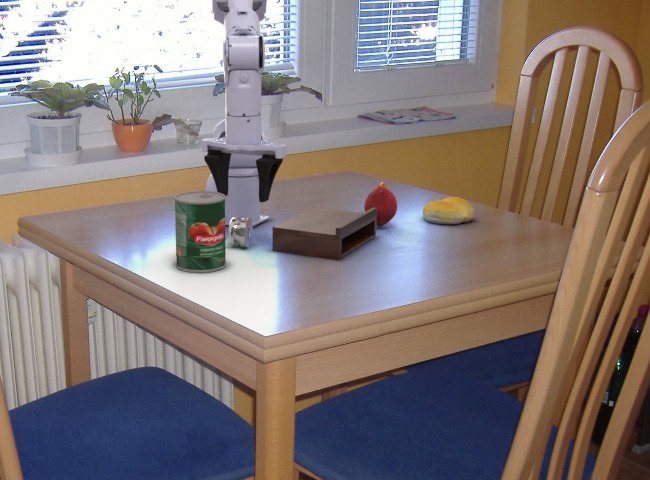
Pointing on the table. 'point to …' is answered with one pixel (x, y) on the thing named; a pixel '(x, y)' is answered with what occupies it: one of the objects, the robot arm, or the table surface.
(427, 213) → the bread roll
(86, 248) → the table surface
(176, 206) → the canned tomato
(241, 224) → the grooved metal pulley
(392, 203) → the red squash
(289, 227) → the shelf
